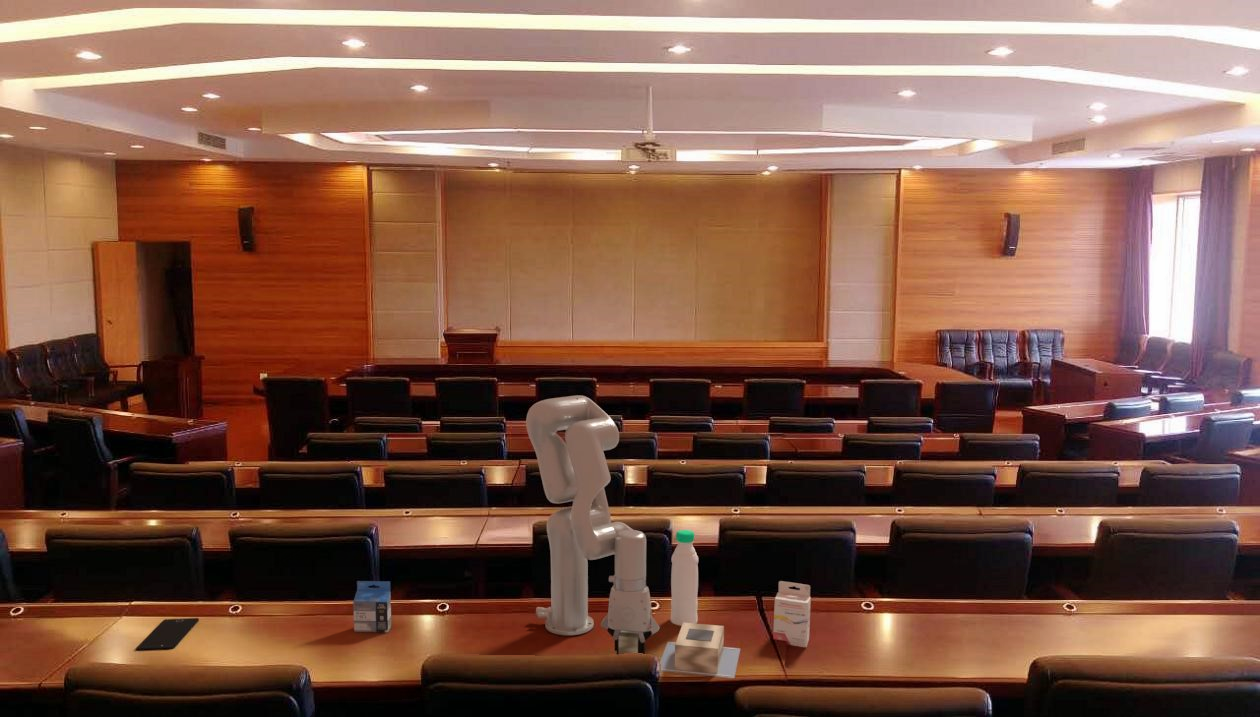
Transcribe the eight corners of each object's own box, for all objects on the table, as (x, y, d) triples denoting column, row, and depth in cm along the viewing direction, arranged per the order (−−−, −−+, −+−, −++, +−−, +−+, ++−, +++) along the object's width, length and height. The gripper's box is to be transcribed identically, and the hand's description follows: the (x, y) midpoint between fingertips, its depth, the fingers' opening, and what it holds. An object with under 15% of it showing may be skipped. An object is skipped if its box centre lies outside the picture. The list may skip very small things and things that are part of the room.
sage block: (618, 659, 223) (618, 636, 222) (622, 651, 227) (622, 628, 227) (637, 661, 222) (637, 637, 221) (640, 653, 226) (641, 630, 226)
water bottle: (695, 630, 240) (697, 536, 237) (668, 628, 241) (669, 535, 238) (699, 619, 247) (700, 528, 244) (672, 617, 248) (673, 526, 245)
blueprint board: (656, 674, 215) (656, 670, 215) (667, 645, 231) (667, 641, 231) (734, 682, 212) (734, 677, 212) (740, 652, 227) (740, 648, 227)
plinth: (674, 669, 216) (674, 644, 215) (682, 645, 228) (683, 622, 228) (717, 673, 214) (717, 648, 213) (723, 649, 226) (723, 625, 226)
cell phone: (199, 621, 245) (199, 617, 245) (173, 650, 227) (173, 647, 227) (164, 622, 244) (164, 619, 244) (135, 652, 226) (135, 648, 226)
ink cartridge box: (772, 643, 233) (773, 586, 231) (776, 635, 237) (777, 580, 235) (806, 648, 230) (808, 591, 228) (809, 640, 234) (811, 584, 233)
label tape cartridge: (353, 632, 237) (351, 586, 236) (357, 626, 241) (356, 580, 240) (388, 633, 237) (386, 586, 236) (391, 626, 241) (390, 581, 240)
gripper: (592, 585, 220) (592, 658, 223) (662, 590, 217) (661, 665, 219) (599, 574, 228) (599, 645, 230) (667, 579, 224) (666, 651, 227)
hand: (629, 654), depth 225 cm, fingers closed on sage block, 4 cm apart
